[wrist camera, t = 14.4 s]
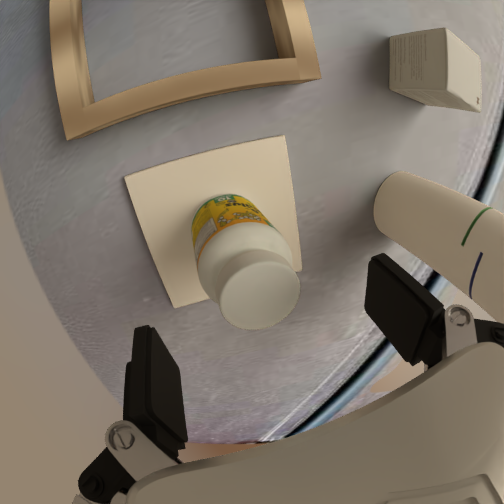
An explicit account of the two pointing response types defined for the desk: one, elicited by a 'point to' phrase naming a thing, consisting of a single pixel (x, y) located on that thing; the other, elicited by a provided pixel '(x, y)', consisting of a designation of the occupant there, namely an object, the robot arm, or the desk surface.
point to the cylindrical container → (446, 235)
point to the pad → (199, 190)
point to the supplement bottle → (243, 262)
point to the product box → (435, 69)
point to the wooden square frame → (176, 87)
